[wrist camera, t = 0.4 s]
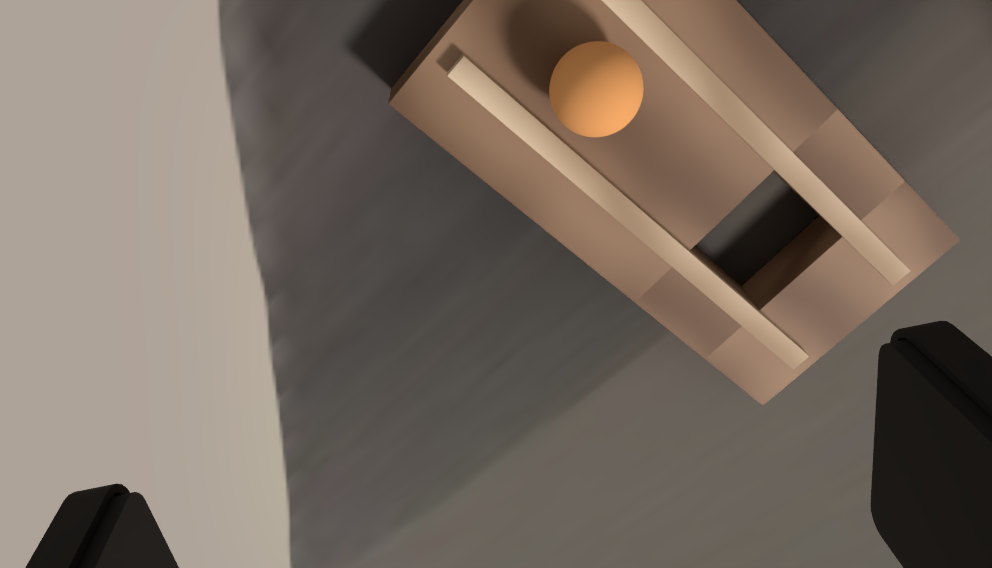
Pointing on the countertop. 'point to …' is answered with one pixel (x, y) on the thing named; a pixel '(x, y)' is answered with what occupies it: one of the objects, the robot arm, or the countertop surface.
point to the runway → (680, 170)
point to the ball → (596, 89)
